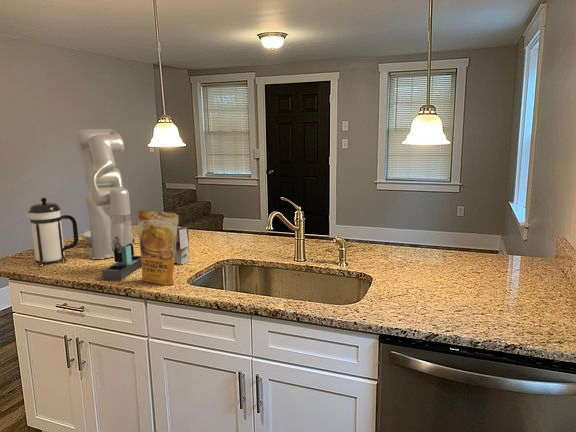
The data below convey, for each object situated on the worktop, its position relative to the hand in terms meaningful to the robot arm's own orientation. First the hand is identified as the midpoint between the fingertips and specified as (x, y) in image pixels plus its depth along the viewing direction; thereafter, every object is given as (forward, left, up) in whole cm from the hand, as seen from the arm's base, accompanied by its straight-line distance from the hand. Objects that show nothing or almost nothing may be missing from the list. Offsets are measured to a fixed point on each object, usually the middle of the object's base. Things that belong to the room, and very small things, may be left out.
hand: (124, 258), depth 188 cm
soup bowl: (-35, +46, -6) cm, 58 cm away
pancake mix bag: (+20, -11, -6) cm, 23 cm away
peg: (0, 0, -6) cm, 6 cm away
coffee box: (+17, +16, -6) cm, 24 cm away
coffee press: (-42, +12, -6) cm, 44 cm away
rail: (0, 0, -6) cm, 6 cm away
